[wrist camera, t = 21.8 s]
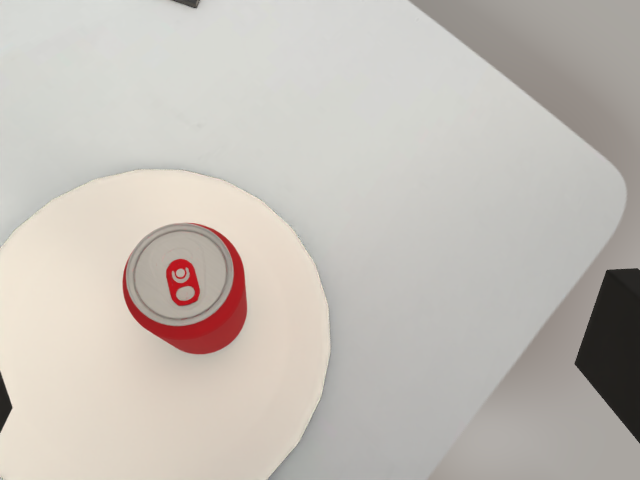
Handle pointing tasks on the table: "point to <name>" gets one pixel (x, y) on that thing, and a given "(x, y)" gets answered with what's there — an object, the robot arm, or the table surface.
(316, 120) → the table surface
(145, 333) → the plate
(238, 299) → the beverage can
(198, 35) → the table surface
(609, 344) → the robot arm
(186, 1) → the slate coaster
